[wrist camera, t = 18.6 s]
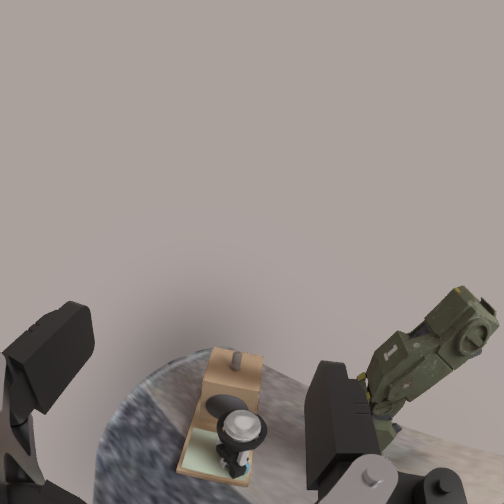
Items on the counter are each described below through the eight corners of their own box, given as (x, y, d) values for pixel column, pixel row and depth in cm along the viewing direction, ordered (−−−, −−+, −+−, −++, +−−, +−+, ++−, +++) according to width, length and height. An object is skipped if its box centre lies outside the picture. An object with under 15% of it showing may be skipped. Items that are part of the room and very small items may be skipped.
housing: (202, 390, 43) (208, 330, 39) (257, 401, 43) (274, 343, 39) (176, 472, 28) (173, 422, 24) (247, 487, 28) (267, 441, 23)
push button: (199, 447, 32) (202, 403, 28) (234, 435, 34) (245, 390, 31) (224, 486, 26) (234, 449, 23) (260, 470, 29) (279, 431, 26)
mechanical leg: (285, 476, 29) (458, 291, 18) (288, 436, 36) (426, 259, 25) (367, 489, 29) (528, 337, 19) (363, 453, 36) (498, 306, 25)
